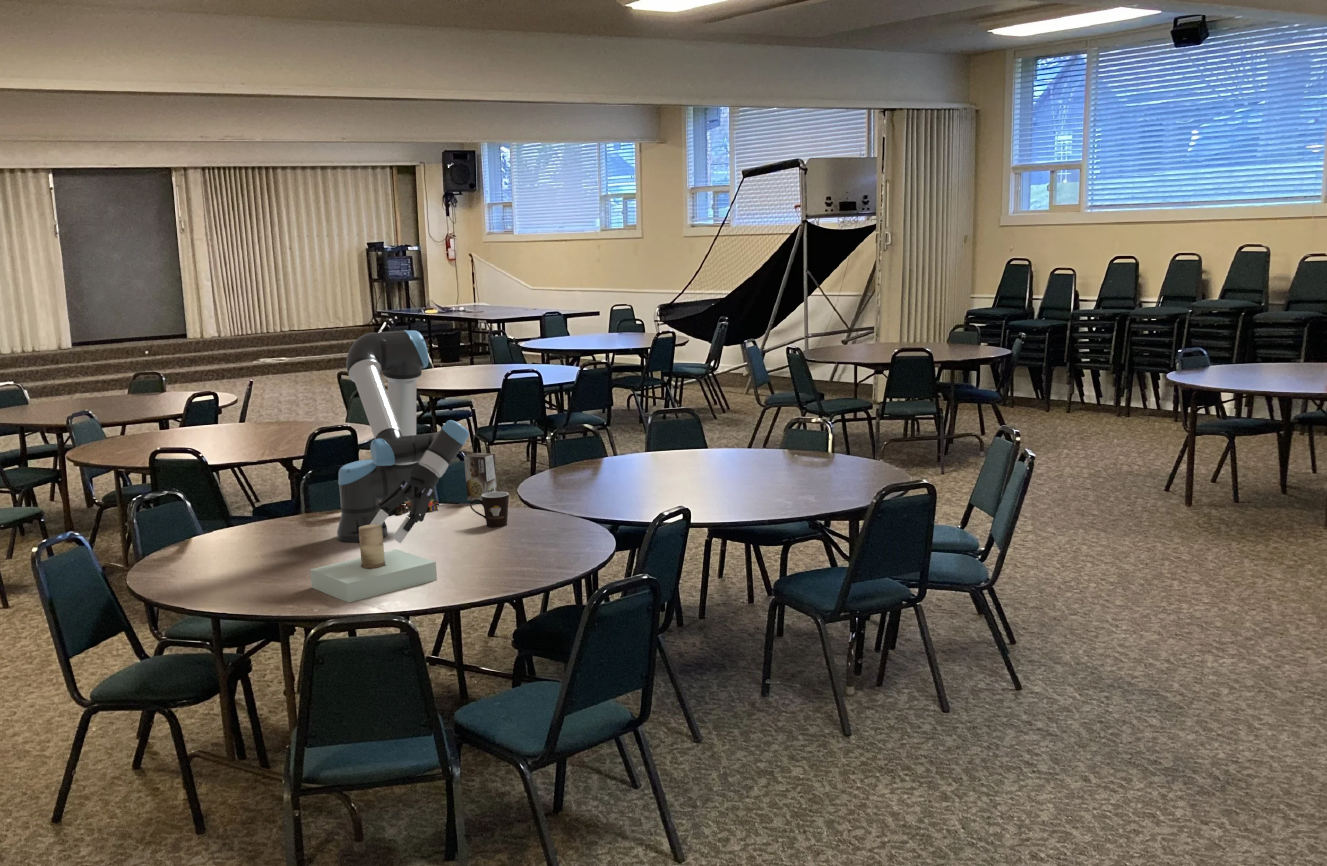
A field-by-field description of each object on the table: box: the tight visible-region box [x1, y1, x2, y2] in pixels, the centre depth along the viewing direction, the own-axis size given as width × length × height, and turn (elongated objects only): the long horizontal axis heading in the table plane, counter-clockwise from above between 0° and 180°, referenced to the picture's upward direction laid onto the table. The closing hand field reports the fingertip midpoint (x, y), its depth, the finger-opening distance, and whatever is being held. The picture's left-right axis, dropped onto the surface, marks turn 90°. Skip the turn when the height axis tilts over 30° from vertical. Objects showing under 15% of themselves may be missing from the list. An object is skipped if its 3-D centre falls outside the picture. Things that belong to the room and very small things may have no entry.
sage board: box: [309, 549, 438, 603], centre depth 308 cm, size 20×26×5 cm
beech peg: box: [359, 524, 385, 569], centre depth 307 cm, size 6×6×15 cm
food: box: [379, 496, 440, 517], centre depth 397 cm, size 22×19×4 cm
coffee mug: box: [469, 491, 510, 529], centre depth 369 cm, size 12×9×10 cm
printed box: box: [463, 452, 498, 502], centre depth 407 cm, size 9×6×16 cm
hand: (383, 536), depth 308 cm, fingers open, 13 cm apart
